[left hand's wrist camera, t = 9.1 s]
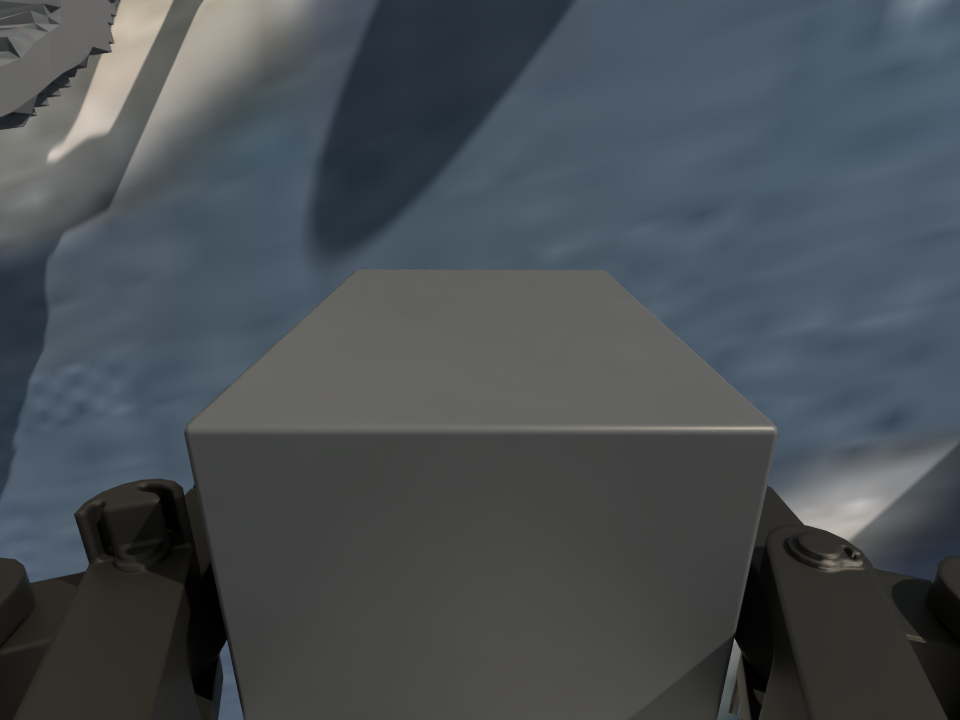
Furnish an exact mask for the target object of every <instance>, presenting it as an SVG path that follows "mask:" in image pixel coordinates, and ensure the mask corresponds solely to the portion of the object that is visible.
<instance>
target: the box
mask: <svg viewBox="0 0 960 720" xmlns="http://www.w3.org/2000/svg"><path fill="white" fill-rule="evenodd" d="M184 435H185V439H186V444H187V449H188V454H189V459H190V463H191V468H192V473H193V478H194V483H195V487H196V492H197V497H198V502H199V506H200V511H201V516H202V521H203V526H204V530H205V535H206V540H207V545H208V550H209V554H210V559H211V564H212V569H213V574H214V578H215V583H216V588H217V593H218V598H219V602H220V607H221V612H222V617H223V622H224V626H225V631H226V636H227V641H228V646H229V650H230V655H231V660H232V665H233V670H234V674H235V679H236V684H237V689H238V694H239V698H240V703H241V708H242V713H243V718H244V720H717V716H718V712H719V707H720V703H721V698H722V693H723V689H724V684H725V679H726V675H727V670H728V665H729V661H730V656H731V651H732V647H733V642H734V637H735V633H736V628H737V623H738V619H739V614H740V610H741V605H742V600H743V596H744V591H745V586H746V582H747V577H748V572H749V568H750V563H751V558H752V554H753V549H754V544H755V540H756V535H757V531H758V526H759V521H760V517H761V512H762V507H763V503H764V498H765V493H766V489H767V484H768V479H769V475H770V470H771V465H772V461H773V456H774V451H775V447H776V442H777V438H778V431H777V427H776V426H775V425H774V424H773V423H772V422H771V421H770V420H769V419H768V418H767V417H766V416H764V415H763V414H762V413H761V412H760V411H759V410H758V409H757V408H756V407H754V406H753V405H752V404H751V403H750V402H749V401H748V400H747V399H746V398H745V397H743V396H742V395H741V394H740V393H739V392H738V391H737V390H736V389H735V388H733V387H732V386H731V385H730V384H729V383H728V382H727V381H726V380H725V379H724V378H722V377H721V376H720V375H719V374H718V373H717V372H716V371H715V370H714V369H713V368H711V367H710V366H709V365H708V364H707V363H706V362H705V361H704V360H703V359H701V358H700V357H699V356H698V355H697V354H696V353H695V352H694V351H693V350H692V349H690V348H689V347H688V346H687V345H686V344H685V343H684V342H683V341H682V340H680V339H679V338H678V337H677V336H676V335H675V334H674V333H673V332H672V331H671V330H669V329H668V328H667V327H666V326H665V325H664V324H663V323H662V322H661V321H659V320H658V319H657V318H656V317H655V316H654V315H653V314H652V313H651V312H650V311H648V310H647V309H646V308H645V307H644V306H643V305H642V304H641V303H640V302H638V301H637V300H636V299H635V298H634V297H633V296H632V295H631V294H630V293H629V292H627V291H626V290H625V289H624V288H623V287H622V286H621V285H620V284H619V283H618V282H616V281H615V280H614V279H613V278H612V277H611V276H610V275H609V274H608V273H606V272H605V271H603V270H356V271H355V272H354V273H353V274H351V275H350V276H349V277H348V278H347V279H346V280H345V281H344V282H343V283H342V284H341V285H339V286H338V287H337V288H336V289H335V290H334V291H333V292H332V293H331V294H330V295H328V296H327V297H326V298H325V299H324V300H323V301H322V302H321V303H320V304H319V305H317V306H316V307H315V308H314V309H313V310H312V311H311V312H310V313H309V314H308V315H307V316H305V317H304V318H303V319H302V320H301V321H300V322H299V323H298V324H297V325H296V326H294V327H293V328H292V329H291V330H290V331H289V332H288V333H287V334H286V335H285V336H284V337H282V338H281V339H280V340H279V341H278V342H277V343H276V344H275V345H274V346H273V347H271V348H270V349H269V350H268V351H267V352H266V353H265V354H264V355H263V356H262V357H261V358H259V359H258V360H257V361H256V362H255V363H254V364H253V365H252V366H251V367H250V368H248V369H247V370H246V371H245V372H244V373H243V374H242V375H241V376H240V377H239V378H237V379H236V380H235V381H234V382H233V383H232V384H231V385H230V386H229V387H228V388H227V389H225V390H224V391H223V392H222V393H221V394H220V395H219V396H218V397H217V398H216V399H214V400H213V401H212V402H211V403H210V404H209V405H208V406H207V407H206V408H205V409H204V410H202V411H201V412H200V413H199V414H198V415H197V416H196V417H195V418H194V419H193V420H191V421H190V422H189V423H188V424H187V425H186V428H185V433H184Z"/></svg>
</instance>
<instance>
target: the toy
mask: <svg viewBox="0 0 960 720" xmlns="http://www.w3.org/2000/svg"><path fill="white" fill-rule="evenodd" d="M118 2H119V0H0V130H3V129H10V128H17V127H24V126H25V124H26V122H27V121H28V119H29V117H30V116H37V114H36V112H35V109H34V107H41V106H48V105H49V104H48V101H47V98H48V97H55V96H60V93H59V90H58V88H65V87H71V84H70V81H69V77H75V74H76V71H77V69H80V68H87V61H88V57H89V55H95V54H102V53H109V52H112V50H111V47H110V44H114V40H113V37H112V33H111V30H110V27H109V25H113V24H114V23H113V20H112V17H113V16H116V5H117V3H118Z"/></svg>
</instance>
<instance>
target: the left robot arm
mask: <svg viewBox="0 0 960 720" xmlns="http://www.w3.org/2000/svg"><path fill="white" fill-rule="evenodd" d="M74 515H75V519H76V522H77V525H78V528H79V532H80V535H81V538H82V541H83V545H84V548H85V551H86V554H87V558H88V561H89V566H88V568H87V570H86V571H85V572H81V573H77V574H72V575H67V576H63V577H58V578H53V579H48V580H43V581H38V582H34V583H30V582H29V579H28V576H27V573H26V571H25V568H24V565H22V564H21V563H19V562H18V561H17V560H15V559H7V558H0V720H218V716H219V708H220V700H221V692H222V684H223V671H222V664H221V660H220V655H219V654H220V652H221V650H222V648H223V646H224V644H225V642H226V640H227V636H226V631H225V626H224V622H223V617H222V612H221V607H220V602H219V598H218V593H217V588H216V583H215V578H214V574H213V569H212V564H211V559H210V554H209V550H208V545H207V540H206V535H205V530H204V526H203V521H202V516H201V511H200V506H199V502H198V497H197V492H196V487H195V484H194V485H193V489H190V490H189V491H188V492H187V493H186V495H185V496H184V492H183V487H181V486H180V485H179V484H177V483H176V482H175V481H170V480H164V479H148V480H139V481H135V482H130V483H126V484H122V485H119V486H117V487H114V488H112V489H109V490H107V491H104V492H102V493H100V494H98V495H97V496H95V497H94V498H92V499H90V500H89V501H87V502H85V503H84V504H83V505H82V506H81V507H80V509H79V510H78V511H77V512H76V513H75V514H74ZM734 638H735V640H736V642H737V644H738V646H739V648H740V649H741V655H740V660H739V664H738V669H737V673H736V678H735V682H734V687H733V691H732V696H731V700H730V707H729V713H731V714H735V715H737V711H738V706H739V702H740V706H741V714H742V720H960V556H950V557H946V558H945V559H943V560H942V561H940V562H939V563H938V565H937V567H936V570H935V573H934V576H933V578H932V581H929V580H924V579H919V578H915V577H910V576H905V575H900V574H895V573H890V572H886V571H881V570H878V569H874V568H873V567H872V565H871V563H870V562H869V560H868V559H867V558H866V557H865V555H864V554H863V553H862V552H861V551H860V550H859V549H858V548H856V547H855V546H853V545H852V544H851V543H849V542H848V541H847V540H845V539H843V538H841V537H839V536H836V535H834V534H832V533H830V532H828V531H825V530H822V529H818V528H814V527H810V526H806V525H804V524H803V523H802V522H801V521H800V520H799V519H798V518H797V516H796V515H795V514H794V513H793V512H792V511H791V510H790V508H789V507H788V506H787V505H786V504H785V503H784V502H783V500H782V499H781V498H780V497H779V496H778V495H777V494H776V493H775V491H774V490H773V489H772V488H771V487H768V484H767V489H766V493H765V498H764V503H763V507H762V512H761V517H760V521H759V526H758V531H757V535H756V540H755V544H754V549H753V554H752V558H751V563H750V568H749V572H748V577H747V582H746V586H745V591H744V596H743V600H742V605H741V610H740V614H739V619H738V623H737V628H736V633H735V637H734Z"/></svg>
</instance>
